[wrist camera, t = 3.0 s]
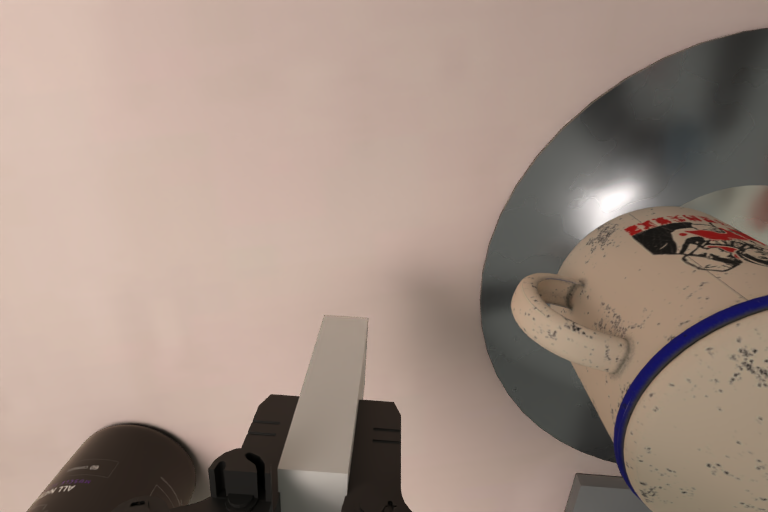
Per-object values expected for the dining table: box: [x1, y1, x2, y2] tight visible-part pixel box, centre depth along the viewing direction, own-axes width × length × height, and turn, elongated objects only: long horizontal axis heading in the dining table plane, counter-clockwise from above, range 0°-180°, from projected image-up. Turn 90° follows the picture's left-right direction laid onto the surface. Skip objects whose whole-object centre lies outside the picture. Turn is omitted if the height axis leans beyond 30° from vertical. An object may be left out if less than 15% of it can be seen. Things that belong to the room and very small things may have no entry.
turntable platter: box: [480, 28, 768, 463], centre depth 22 cm, size 22×22×1 cm
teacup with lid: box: [511, 206, 768, 512], centre depth 16 cm, size 12×9×12 cm
